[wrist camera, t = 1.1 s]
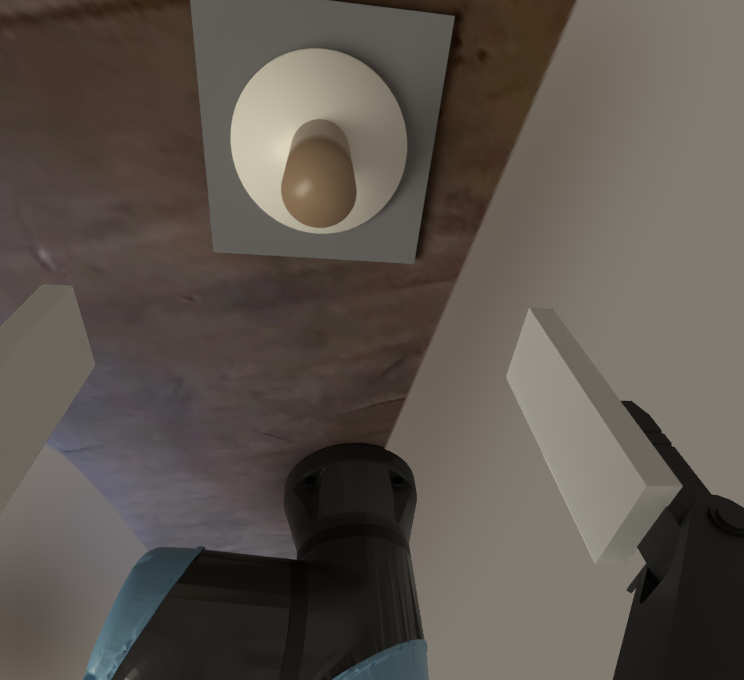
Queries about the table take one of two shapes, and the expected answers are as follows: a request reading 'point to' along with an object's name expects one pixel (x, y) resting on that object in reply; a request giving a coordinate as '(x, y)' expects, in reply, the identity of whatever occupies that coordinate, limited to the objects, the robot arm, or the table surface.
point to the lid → (318, 140)
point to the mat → (331, 31)
